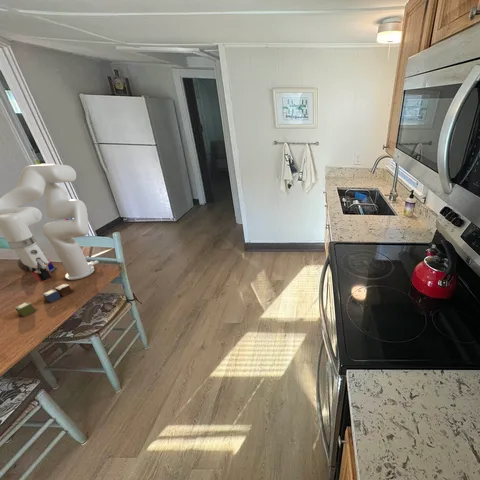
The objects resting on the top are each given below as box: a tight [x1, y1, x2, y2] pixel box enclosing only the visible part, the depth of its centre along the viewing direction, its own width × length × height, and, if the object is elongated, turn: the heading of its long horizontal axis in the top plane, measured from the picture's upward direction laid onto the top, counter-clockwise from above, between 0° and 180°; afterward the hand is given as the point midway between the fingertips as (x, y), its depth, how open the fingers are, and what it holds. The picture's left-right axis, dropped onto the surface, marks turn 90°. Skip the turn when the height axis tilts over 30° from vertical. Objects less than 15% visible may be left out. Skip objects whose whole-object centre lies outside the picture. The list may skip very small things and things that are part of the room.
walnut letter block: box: [54, 283, 73, 297], centre depth 133 cm, size 4×4×4 cm
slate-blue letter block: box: [42, 289, 61, 303], centre depth 128 cm, size 4×4×4 cm
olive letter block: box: [14, 301, 36, 317], centre depth 120 cm, size 4×4×4 cm
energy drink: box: [38, 249, 56, 273], centre depth 148 cm, size 5×5×12 cm
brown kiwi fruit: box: [17, 257, 31, 272], centre depth 151 cm, size 7×7×9 cm
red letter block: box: [30, 269, 52, 283], centre depth 118 cm, size 4×4×4 cm
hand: (43, 277), depth 119 cm, fingers closed on red letter block, 4 cm apart
